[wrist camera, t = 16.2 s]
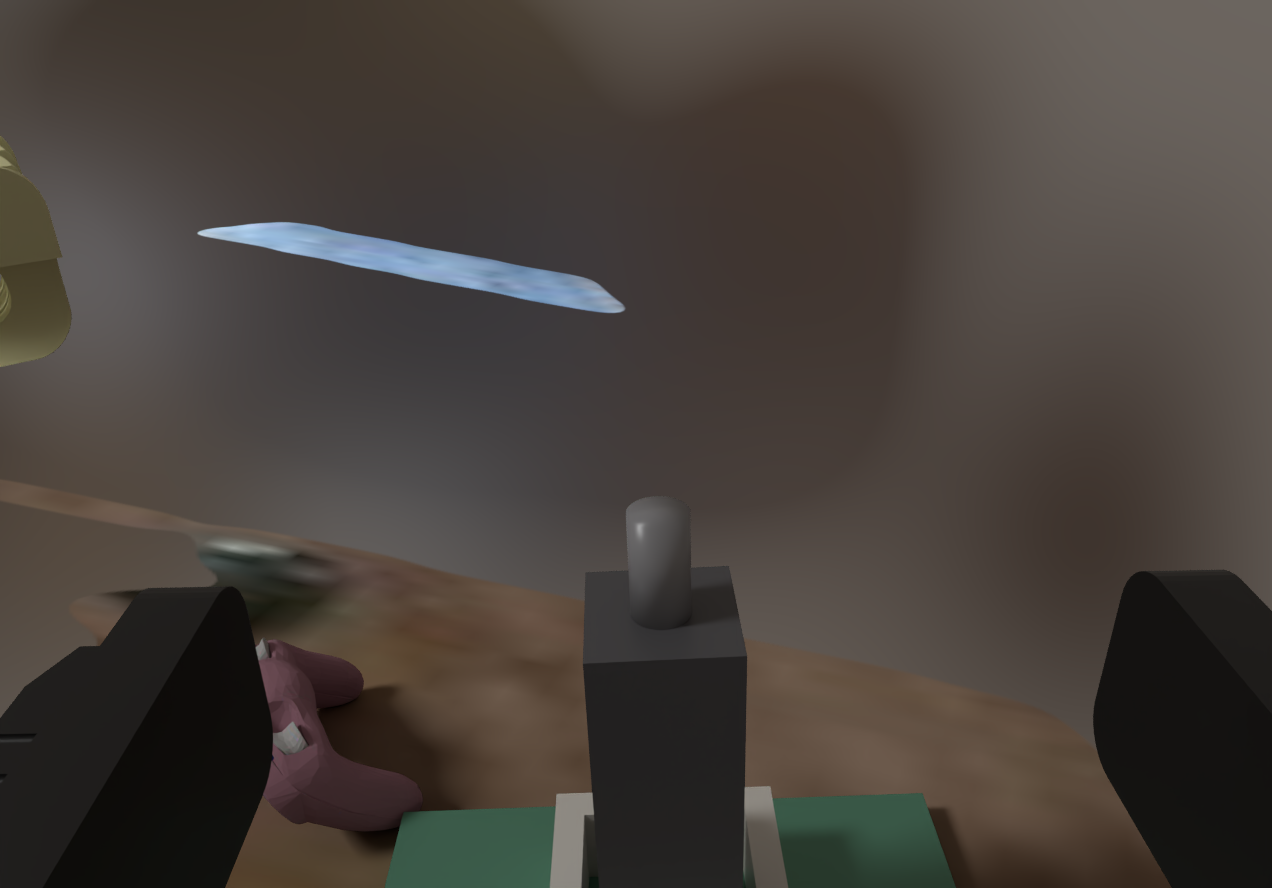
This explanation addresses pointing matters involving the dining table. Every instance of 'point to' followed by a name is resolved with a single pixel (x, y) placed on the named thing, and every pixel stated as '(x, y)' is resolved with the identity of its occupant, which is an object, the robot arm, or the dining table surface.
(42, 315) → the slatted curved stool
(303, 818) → the video game controller
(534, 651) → the dining table surface
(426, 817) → the circuit board
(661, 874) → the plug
